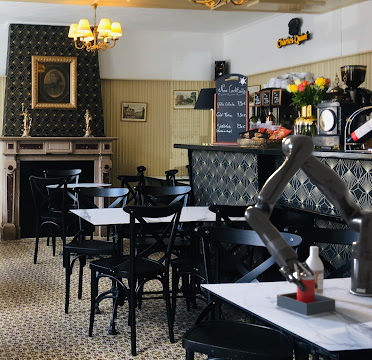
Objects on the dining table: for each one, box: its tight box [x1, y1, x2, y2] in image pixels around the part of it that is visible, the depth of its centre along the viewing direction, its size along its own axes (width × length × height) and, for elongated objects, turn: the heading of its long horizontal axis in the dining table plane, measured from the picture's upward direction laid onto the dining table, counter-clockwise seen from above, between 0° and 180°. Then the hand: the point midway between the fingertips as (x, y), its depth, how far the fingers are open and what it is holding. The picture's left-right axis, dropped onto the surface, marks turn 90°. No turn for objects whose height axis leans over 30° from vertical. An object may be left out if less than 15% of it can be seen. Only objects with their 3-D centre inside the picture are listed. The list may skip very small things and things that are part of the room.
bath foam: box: [305, 245, 325, 296], centre depth 230 cm, size 7×7×20 cm
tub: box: [276, 291, 336, 316], centre depth 213 cm, size 14×14×5 cm
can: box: [296, 276, 315, 303], centre depth 212 cm, size 6×6×10 cm
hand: (310, 289), depth 211 cm, fingers closed on can, 6 cm apart
